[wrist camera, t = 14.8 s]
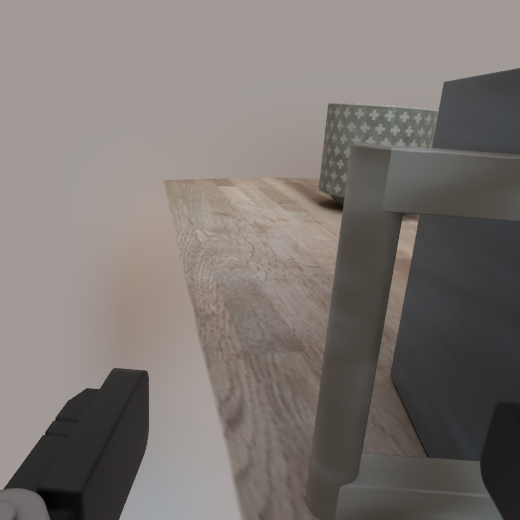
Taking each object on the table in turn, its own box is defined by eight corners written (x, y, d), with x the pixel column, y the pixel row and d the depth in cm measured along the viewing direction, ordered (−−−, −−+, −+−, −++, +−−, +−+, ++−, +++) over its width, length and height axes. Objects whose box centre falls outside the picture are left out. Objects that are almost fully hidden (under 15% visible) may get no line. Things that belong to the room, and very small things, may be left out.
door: (302, 639, 14) (394, -2, 9) (285, 366, 29) (315, 71, 24) (551, 657, 14) (799, 29, 9) (405, 375, 29) (462, 83, 24)
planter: (304, 197, 92) (314, 103, 86) (391, 200, 96) (405, 110, 90) (338, 219, 74) (352, 102, 69) (442, 222, 78) (464, 111, 73)
